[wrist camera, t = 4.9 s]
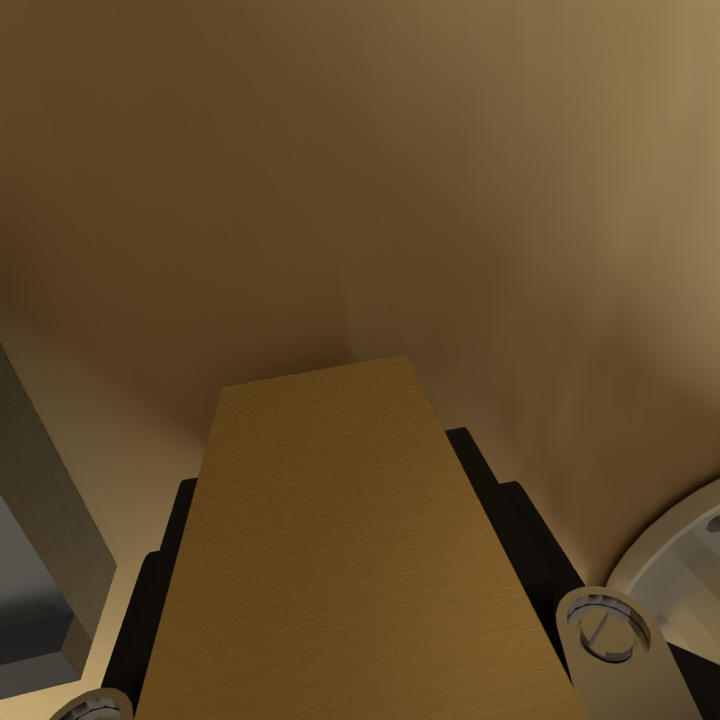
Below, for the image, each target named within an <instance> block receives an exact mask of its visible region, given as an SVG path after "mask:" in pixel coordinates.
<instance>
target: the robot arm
mask: <svg viewBox="0 0 720 720" xmlns="http://www.w3.org/2000/svg"><path fill="white" fill-rule="evenodd" d="M445 433H446V435H447V437H448V439H449V441H450V443H451V445H452V447H453V449H454V451H455V453H456V455H457V457H458V459H459V461H460V463H461V465H462V467H463V469H464V471H465V473H466V475H467V477H468V479H469V481H470V483H471V485H472V487H473V489H474V491H475V493H476V495H477V497H478V499H479V501H480V503H481V505H482V507H483V509H484V511H485V513H486V515H487V517H488V519H489V521H490V523H491V525H492V527H493V529H494V531H495V533H496V535H497V537H498V539H499V541H500V543H501V545H502V547H503V549H504V551H505V553H506V555H507V557H508V559H509V561H510V563H511V565H512V567H513V569H514V571H515V573H516V575H517V577H518V579H519V581H520V583H521V585H522V587H523V589H524V591H525V593H526V595H527V597H528V599H529V601H530V603H531V605H532V607H533V609H534V610H535V612H536V614H537V616H538V618H539V620H540V622H541V624H542V626H543V628H544V630H545V632H546V634H547V636H548V638H549V640H550V642H551V644H552V646H553V648H554V650H555V652H556V654H557V656H558V658H559V660H560V662H561V664H562V666H563V668H564V670H565V672H566V674H567V676H568V678H569V680H570V682H571V684H572V686H573V688H574V690H575V692H576V694H577V696H578V698H579V700H580V702H581V704H582V706H583V708H584V710H585V712H586V714H587V716H588V718H589V720H720V478H719V479H717V480H715V481H713V482H711V483H710V484H708V485H706V486H704V487H702V488H700V489H698V490H697V491H695V492H694V493H692V494H691V495H689V496H688V497H686V498H685V499H683V500H682V501H681V502H679V503H678V504H676V505H675V506H673V507H672V508H670V509H669V510H668V511H667V512H666V513H664V514H663V515H662V516H661V517H660V518H659V519H658V520H656V521H655V522H654V523H653V524H652V525H651V526H649V527H648V528H647V529H646V530H645V531H644V532H643V533H642V534H641V536H640V537H639V538H638V539H637V540H636V541H635V542H634V543H633V544H632V545H631V547H630V548H629V549H628V550H627V551H626V553H625V554H624V555H623V557H622V558H621V560H620V561H619V563H618V564H617V566H616V567H615V569H614V570H613V572H612V574H611V576H610V578H609V580H608V582H607V585H606V587H598V586H588V587H586V586H585V584H584V583H583V581H582V580H581V578H580V577H579V575H578V573H577V572H576V570H575V569H574V567H573V566H572V564H571V563H570V561H569V559H568V558H567V556H566V555H565V553H564V552H563V550H562V548H561V547H560V545H559V544H558V542H557V541H556V539H555V538H554V536H553V534H552V533H551V531H550V530H549V528H548V527H547V525H546V523H545V522H544V520H543V519H542V517H541V516H540V514H539V513H538V511H537V509H536V508H535V506H534V505H533V503H532V502H531V500H530V498H529V497H528V495H527V494H526V492H525V491H524V489H523V488H522V486H521V485H520V484H519V483H518V482H516V481H512V482H507V483H502V484H499V483H498V481H497V480H496V478H495V476H494V474H493V473H492V471H491V469H490V468H489V466H488V464H487V462H486V461H485V459H484V457H483V456H482V454H481V452H480V450H479V449H478V447H477V445H476V443H475V442H474V440H473V438H472V437H471V435H470V433H469V431H468V430H467V428H465V427H462V428H457V429H452V430H446V431H445ZM197 480H198V477H197V478H192V479H187V480H183V481H181V483H180V486H179V489H178V492H177V496H176V499H175V502H174V505H173V509H172V512H171V515H170V518H169V521H168V525H167V528H166V531H165V534H164V538H163V541H162V544H161V547H160V551H155V552H150V553H149V554H148V555H147V556H146V557H145V559H144V561H143V564H142V567H141V570H140V572H139V575H138V578H137V581H136V584H135V587H134V590H133V593H132V596H131V599H130V602H129V605H128V608H127V611H126V614H125V617H124V620H123V623H122V626H121V629H120V631H119V634H118V637H117V640H116V643H115V646H114V649H113V652H112V655H111V658H110V661H109V664H108V667H107V670H106V673H105V676H104V679H103V682H102V685H101V688H99V689H95V690H92V691H88V692H86V693H84V694H82V695H80V696H78V697H76V698H74V699H73V700H71V701H69V702H68V703H67V704H66V705H64V706H63V707H62V708H61V709H60V710H58V711H57V712H56V713H55V714H54V715H53V716H52V717H51V718H50V719H49V720H134V718H135V714H136V710H137V706H138V703H139V699H140V695H141V691H142V688H143V684H144V680H145V676H146V672H147V669H148V665H149V661H150V657H151V654H152V650H153V646H154V642H155V638H156V635H157V631H158V627H159V623H160V620H161V616H162V612H163V608H164V604H165V601H166V597H167V593H168V589H169V586H170V582H171V578H172V574H173V570H174V567H175V563H176V559H177V555H178V552H179V548H180V544H181V540H182V536H183V533H184V529H185V525H186V521H187V518H188V514H189V510H190V506H191V503H192V499H193V495H194V491H195V487H196V484H197Z"/></svg>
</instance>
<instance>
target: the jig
mask: <svg viewBox="0 0 720 720" xmlns="http://www.w3.org/2000/svg"><path fill="white" fill-rule="evenodd" d="M116 568H117V565H116V563H115V562H114V560H113V558H112V556H111V554H110V552H109V550H108V548H107V546H106V545H105V543H104V541H103V539H102V537H101V535H100V533H99V531H98V529H97V527H96V526H95V524H94V522H93V520H92V518H91V516H90V514H89V512H88V510H87V509H86V507H85V505H84V503H83V501H82V499H81V497H80V495H79V493H78V491H77V490H76V488H75V486H74V484H73V482H72V480H71V478H70V476H69V474H68V473H67V471H66V469H65V467H64V465H63V463H62V461H61V459H60V457H59V455H58V454H57V452H56V450H55V448H54V446H53V444H52V442H51V440H50V438H49V436H48V435H47V433H46V431H45V429H44V427H43V425H42V423H41V421H40V419H39V418H38V416H37V414H36V412H35V410H34V408H33V406H32V404H31V402H30V400H29V399H28V397H27V395H26V393H25V391H24V389H23V387H22V385H21V383H20V382H19V380H18V378H17V376H16V374H15V372H14V370H13V368H12V366H11V364H10V363H9V361H8V359H7V357H6V355H5V353H4V351H3V349H2V347H1V346H0V700H1V699H5V698H9V697H13V696H17V695H21V694H25V693H29V692H33V691H38V690H42V689H46V688H50V687H54V686H58V685H62V684H66V683H70V682H74V681H78V680H81V677H82V673H83V670H84V667H85V664H86V661H87V658H88V655H89V652H90V649H91V645H92V642H93V639H94V636H95V633H96V630H97V627H98V624H99V621H100V617H101V614H102V611H103V608H104V605H105V602H106V599H107V596H108V593H109V589H110V586H111V583H112V580H113V577H114V574H115V571H116Z"/></svg>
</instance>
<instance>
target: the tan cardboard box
mask: <svg viewBox="0 0 720 720" xmlns="http://www.w3.org/2000/svg"><path fill="white" fill-rule="evenodd" d="M134 720H589V718H588V716H587V714H586V712H585V710H584V708H583V706H582V704H581V702H580V700H579V698H578V696H577V694H576V692H575V690H574V688H573V686H572V684H571V682H570V680H569V678H568V676H567V674H566V672H565V670H564V668H563V666H562V664H561V662H560V660H559V658H558V656H557V654H556V652H555V650H554V648H553V646H552V644H551V642H550V640H549V638H548V636H547V634H546V632H545V630H544V628H543V626H542V624H541V622H540V620H539V618H538V616H537V614H536V612H535V610H534V609H533V607H532V605H531V603H530V601H529V599H528V597H527V595H526V593H525V591H524V589H523V587H522V585H521V583H520V581H519V579H518V577H517V575H516V573H515V571H514V569H513V567H512V565H511V563H510V561H509V559H508V557H507V555H506V553H505V551H504V549H503V547H502V545H501V543H500V541H499V539H498V537H497V535H496V533H495V531H494V529H493V527H492V525H491V523H490V521H489V519H488V517H487V515H486V513H485V511H484V509H483V507H482V505H481V503H480V501H479V499H478V497H477V495H476V493H475V491H474V489H473V487H472V485H471V483H470V481H469V479H468V477H467V475H466V473H465V471H464V469H463V467H462V465H461V463H460V461H459V459H458V457H457V455H456V453H455V451H454V449H453V447H452V445H451V443H450V441H449V439H448V437H447V435H446V433H445V431H444V429H443V427H442V425H441V423H440V421H439V419H438V417H437V415H436V413H435V411H434V409H433V408H432V406H431V404H430V402H429V400H428V398H427V396H426V394H425V392H424V390H423V388H422V386H421V384H420V382H419V380H418V378H417V376H416V374H415V372H414V370H413V368H412V366H411V364H410V362H409V360H408V358H407V356H406V354H404V355H398V356H393V357H387V358H382V359H376V360H370V361H365V362H359V363H354V364H348V365H342V366H337V367H331V368H326V369H320V370H314V371H309V372H303V373H298V374H292V375H287V376H281V377H275V378H270V379H264V380H259V381H253V382H247V383H242V384H236V385H231V386H225V387H222V389H221V393H220V397H219V401H218V404H217V408H216V412H215V416H214V419H213V423H212V427H211V431H210V435H209V438H208V442H207V446H206V450H205V453H204V457H203V461H202V465H201V469H200V472H199V476H198V480H197V484H196V487H195V491H194V495H193V499H192V503H191V506H190V510H189V514H188V518H187V521H186V525H185V529H184V533H183V536H182V540H181V544H180V548H179V552H178V555H177V559H176V563H175V567H174V570H173V574H172V578H171V582H170V586H169V589H168V593H167V597H166V601H165V604H164V608H163V612H162V616H161V620H160V623H159V627H158V631H157V635H156V638H155V642H154V646H153V650H152V654H151V657H150V661H149V665H148V669H147V672H146V676H145V680H144V684H143V688H142V691H141V695H140V699H139V703H138V706H137V710H136V714H135V718H134Z"/></svg>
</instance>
